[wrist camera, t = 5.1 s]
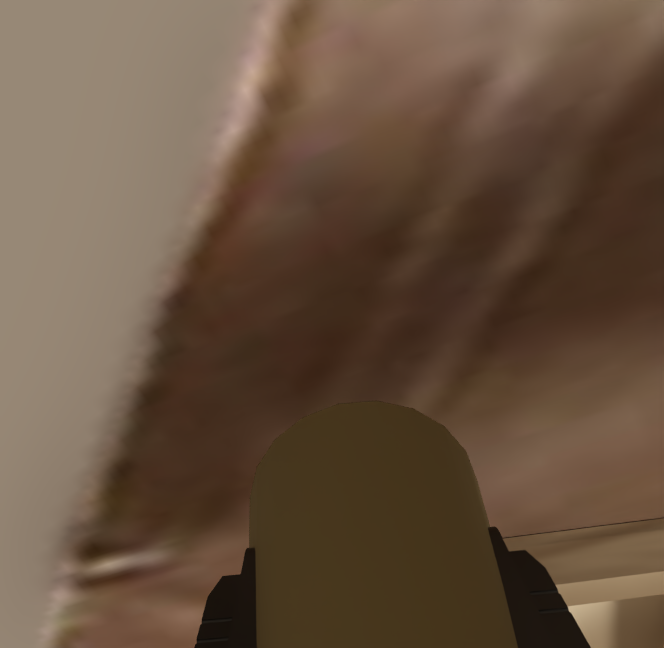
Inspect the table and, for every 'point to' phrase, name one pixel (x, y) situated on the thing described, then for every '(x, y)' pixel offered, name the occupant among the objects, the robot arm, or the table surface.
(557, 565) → the birch tray
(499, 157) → the table surface
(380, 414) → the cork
